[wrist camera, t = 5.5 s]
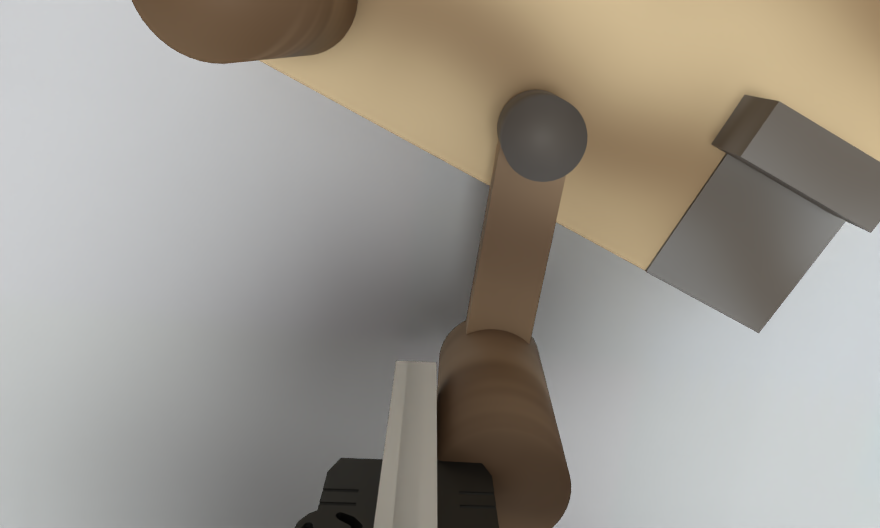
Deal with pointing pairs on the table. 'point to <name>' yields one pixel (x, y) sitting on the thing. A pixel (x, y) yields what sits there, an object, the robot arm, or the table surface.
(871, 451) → the table surface
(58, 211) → the table surface
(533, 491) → the hinged leg
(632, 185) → the stool seat
